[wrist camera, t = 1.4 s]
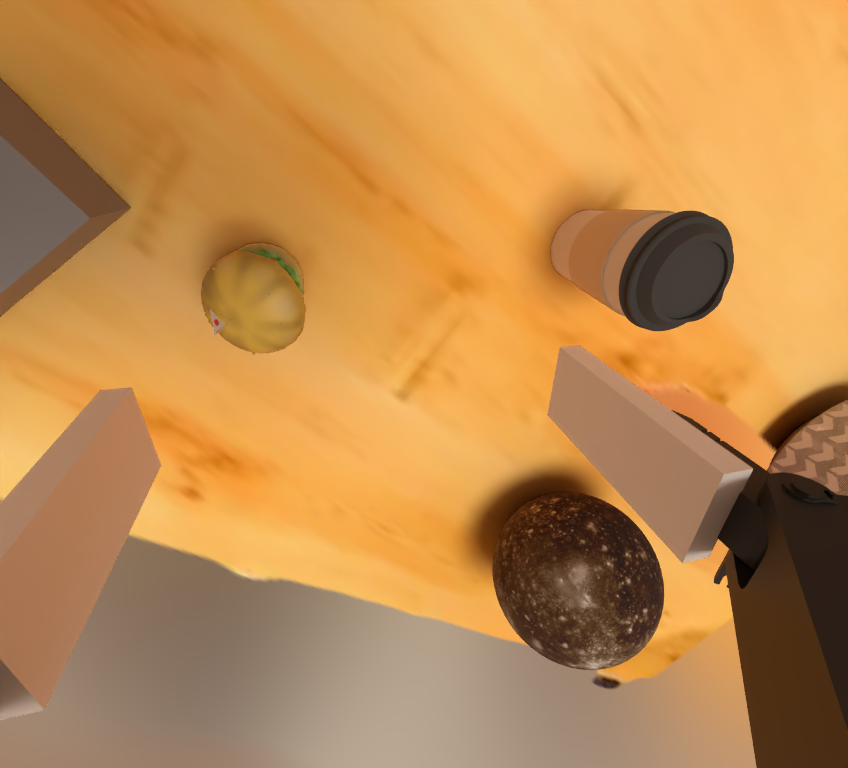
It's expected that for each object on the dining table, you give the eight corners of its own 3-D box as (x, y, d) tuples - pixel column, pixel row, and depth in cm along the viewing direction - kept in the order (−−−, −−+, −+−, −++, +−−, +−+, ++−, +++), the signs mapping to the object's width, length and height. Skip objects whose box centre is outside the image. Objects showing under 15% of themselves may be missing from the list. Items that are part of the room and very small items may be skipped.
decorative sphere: (453, 563, 62) (508, 718, 45) (500, 454, 54) (589, 592, 37) (563, 563, 68) (648, 698, 51) (620, 467, 60) (742, 588, 43)
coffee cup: (524, 242, 41) (621, 279, 28) (598, 176, 40) (734, 183, 27) (566, 305, 46) (666, 362, 33) (633, 248, 44) (765, 283, 32)
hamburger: (318, 307, 39) (321, 359, 29) (243, 329, 39) (218, 390, 28) (288, 224, 36) (279, 250, 25) (203, 246, 35) (159, 282, 25)
